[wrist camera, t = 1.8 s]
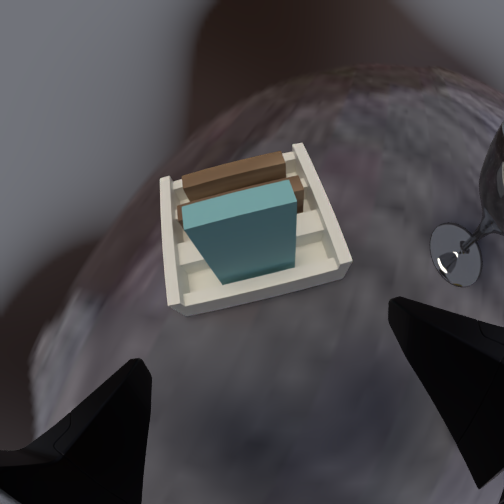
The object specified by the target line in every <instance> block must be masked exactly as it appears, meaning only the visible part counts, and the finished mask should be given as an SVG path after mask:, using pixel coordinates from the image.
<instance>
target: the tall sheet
mask: <svg viewBox="0 0 504 504" xmlns="http://www.w3.org/2000/svg"><path fill="white" fill-rule="evenodd" d="M182 217H183V227H184V231H185V232H186V234H187V235H188V237H189V238H190V240H191V241H192V243H193V244H194V245H195V247H196V248H197V250H198V251H199V253H200V254H201V255H202V257H203V258H204V260H205V261H206V263H207V264H208V265H209V267H210V268H211V270H212V271H213V272H214V274H215V275H216V277H217V278H218V279H219V281H220V282H221V283H222V285H225V284H230V283H234V282H238V281H242V280H246V279H250V278H255V277H259V276H263V275H267V274H271V273H275V272H279V271H283V270H287V269H291V268H295V253H296V225H297V200H296V197H295V194H294V192H293V189H292V186H291V184H290V181H289V180H285V181H280V182H276V183H271V184H267V185H263V186H259V187H254V188H250V189H246V190H242V191H238V192H234V193H230V194H226V195H223V196H219V197H215V198H211V199H208V200H204V201H200V202H197V203H193V204H189V205H186V206H182Z"/></svg>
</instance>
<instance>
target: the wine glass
mask: <svg viewBox="0 0 504 504" xmlns="http://www.w3.org/2000/svg"><path fill="white" fill-rule="evenodd" d="M479 194H480V200H481V206H482V219H481V222H480V224H479V226H478V227H477V229H476V230H475V231H474V233H473V234H471V233H470V232H469V231H468V230H467V229H466V228H464V227H463V226H461V225H459V224H456V223H450V222H448V223H443V224H441V225H439V226H438V227H437V228H436V229H435V230H434V232H433V233H432V236H431V240H430V252H431V257H432V260H433V263H434V265H435V267H436V269H437V270H438V272H439V273H440V274H441V276H442V277H443V278H444V279H445V280H446V281H448V282H449V283H451V284H453V285H455V286H458V287H467V286H470V285H472V284H474V283H475V282H476V281H477V279H478V278H479V276H480V274H481V271H482V263H483V261H482V254H481V250H480V247H479V245H478V243H477V241H478V240H480V239H482V238H483V237H485V236H486V235H488V234H491V233H496V234H500V235H502V236H504V120H503V122H502V124H501V125H500V127H499V129H498V131H497V132H496V134H495V136H494V138H493V140H492V142H491V144H490V147H489V149H488V152H487V154H486V157H485V160H484V163H483V166H482V169H481V173H480V178H479Z"/></svg>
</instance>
